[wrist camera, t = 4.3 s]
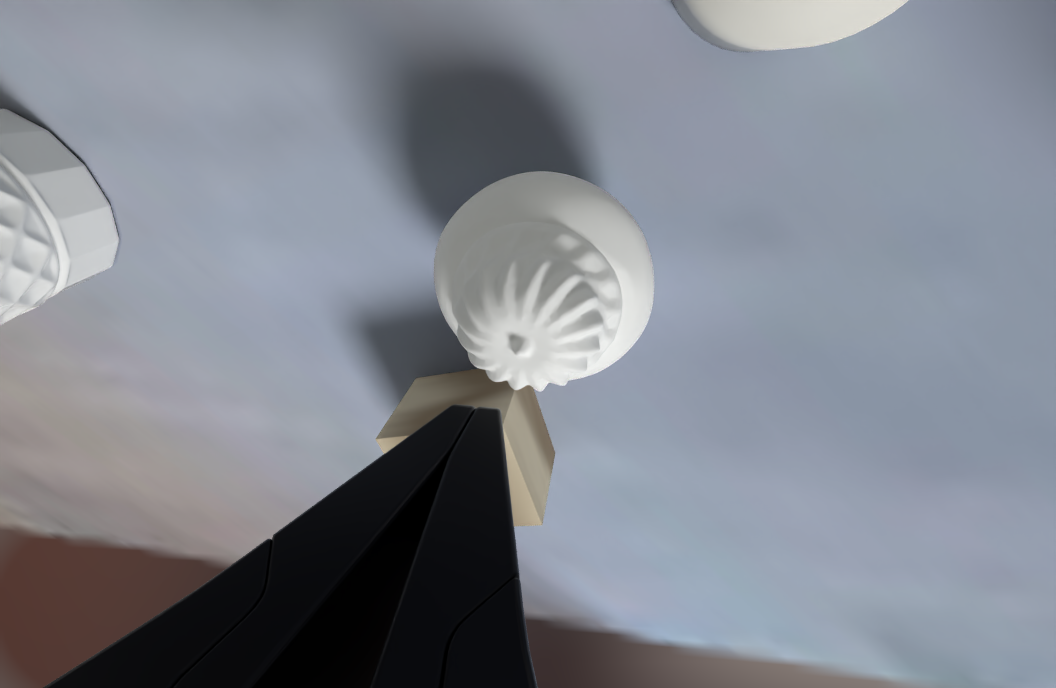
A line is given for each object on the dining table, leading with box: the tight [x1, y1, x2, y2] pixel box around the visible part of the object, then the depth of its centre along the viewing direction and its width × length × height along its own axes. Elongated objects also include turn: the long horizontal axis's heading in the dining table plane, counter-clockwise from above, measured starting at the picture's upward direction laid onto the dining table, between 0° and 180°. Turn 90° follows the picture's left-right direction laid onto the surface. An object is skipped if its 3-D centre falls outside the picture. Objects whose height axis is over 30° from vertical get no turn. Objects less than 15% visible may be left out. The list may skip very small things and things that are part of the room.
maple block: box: [376, 369, 555, 526], centre depth 19 cm, size 5×5×4 cm
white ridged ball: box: [434, 171, 654, 392], centre depth 13 cm, size 6×6×7 cm
